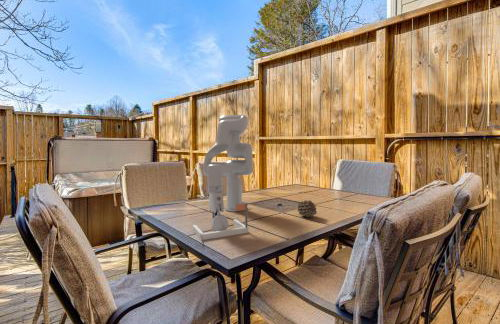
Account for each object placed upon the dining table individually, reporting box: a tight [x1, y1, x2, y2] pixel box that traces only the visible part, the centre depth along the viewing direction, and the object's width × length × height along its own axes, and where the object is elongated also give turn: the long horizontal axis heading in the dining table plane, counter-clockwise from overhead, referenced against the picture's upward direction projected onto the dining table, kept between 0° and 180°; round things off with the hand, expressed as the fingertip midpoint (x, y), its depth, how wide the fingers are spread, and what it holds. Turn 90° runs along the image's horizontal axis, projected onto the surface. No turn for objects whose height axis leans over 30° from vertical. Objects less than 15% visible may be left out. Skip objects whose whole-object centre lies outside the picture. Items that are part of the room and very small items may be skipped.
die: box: [209, 213, 230, 232], centre depth 134 cm, size 8×9×10 cm
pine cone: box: [293, 199, 318, 218], centre depth 163 cm, size 22×10×10 cm, turn 26°
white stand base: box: [192, 202, 249, 241], centre depth 135 cm, size 23×16×14 cm
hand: (216, 224), depth 141 cm, fingers closed
